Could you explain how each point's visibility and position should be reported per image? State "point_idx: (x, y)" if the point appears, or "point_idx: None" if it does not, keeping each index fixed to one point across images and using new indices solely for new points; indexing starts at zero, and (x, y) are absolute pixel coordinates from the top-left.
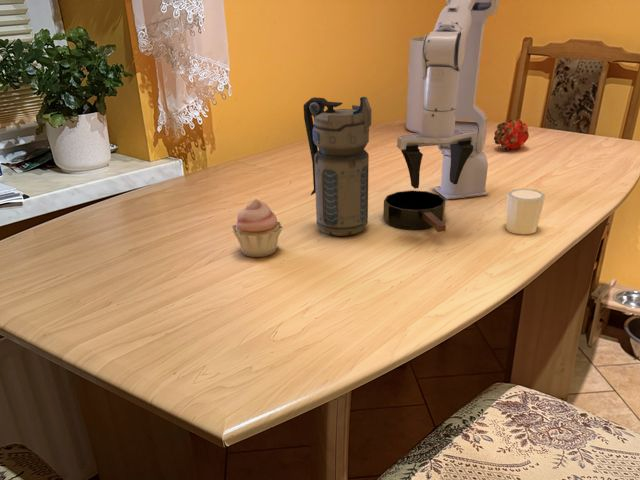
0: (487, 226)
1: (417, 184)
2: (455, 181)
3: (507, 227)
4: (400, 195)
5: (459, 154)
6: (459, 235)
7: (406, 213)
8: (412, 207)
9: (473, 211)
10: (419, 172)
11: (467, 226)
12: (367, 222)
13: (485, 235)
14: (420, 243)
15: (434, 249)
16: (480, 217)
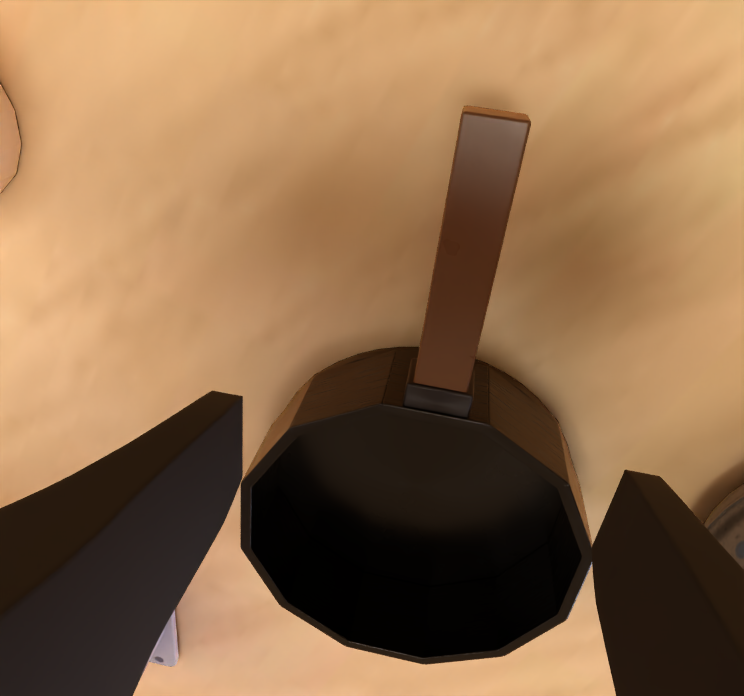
0: (107, 236)
1: (659, 495)
2: (222, 403)
3: (10, 141)
4: (413, 639)
5: (11, 649)
6: (306, 191)
7: (541, 450)
8: (363, 563)
9: (107, 423)
10: (709, 599)
11: (208, 283)
12: (727, 508)
13: (165, 123)
14: (587, 185)
15: (572, 51)
16: (101, 351)
